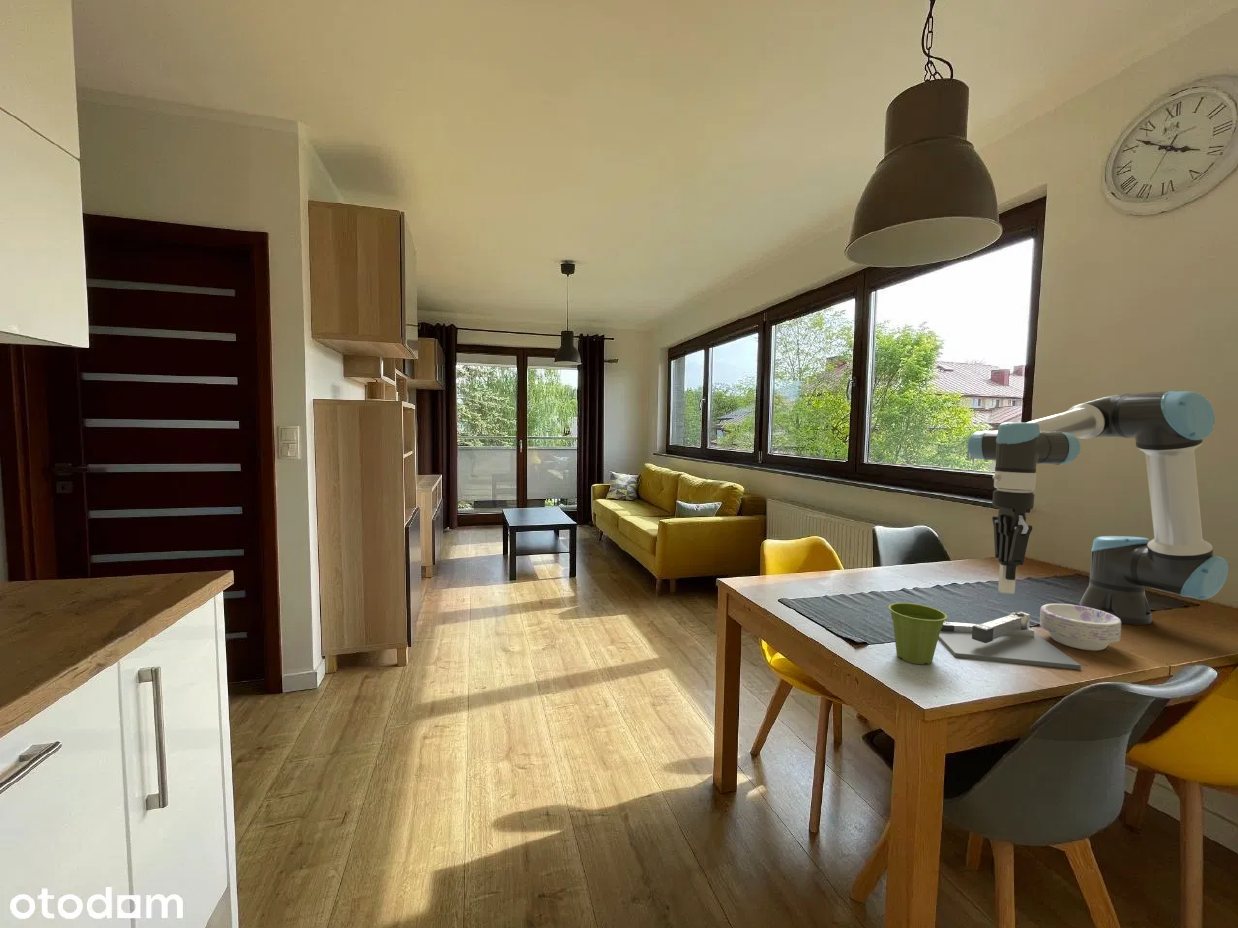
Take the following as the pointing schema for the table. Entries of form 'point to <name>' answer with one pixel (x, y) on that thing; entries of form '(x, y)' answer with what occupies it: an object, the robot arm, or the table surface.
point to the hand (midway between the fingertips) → (1006, 592)
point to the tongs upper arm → (1001, 627)
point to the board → (1007, 649)
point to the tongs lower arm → (968, 627)
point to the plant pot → (916, 631)
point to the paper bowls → (1080, 626)
